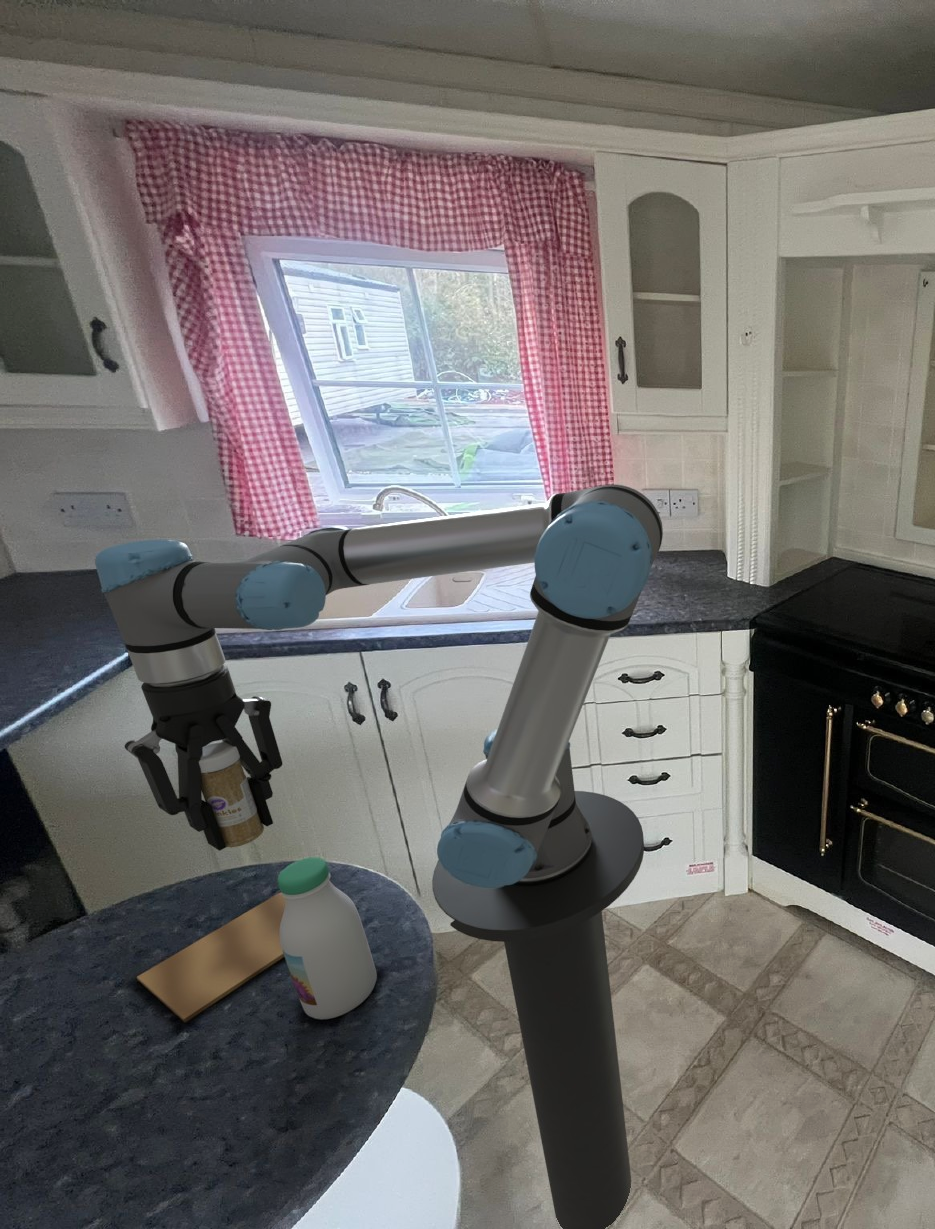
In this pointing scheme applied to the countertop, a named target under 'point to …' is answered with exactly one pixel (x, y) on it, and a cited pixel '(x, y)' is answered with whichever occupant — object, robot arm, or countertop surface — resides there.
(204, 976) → the cork mat
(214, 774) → the sprinkles bottle
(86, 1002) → the countertop surface
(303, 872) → the milk bottle
